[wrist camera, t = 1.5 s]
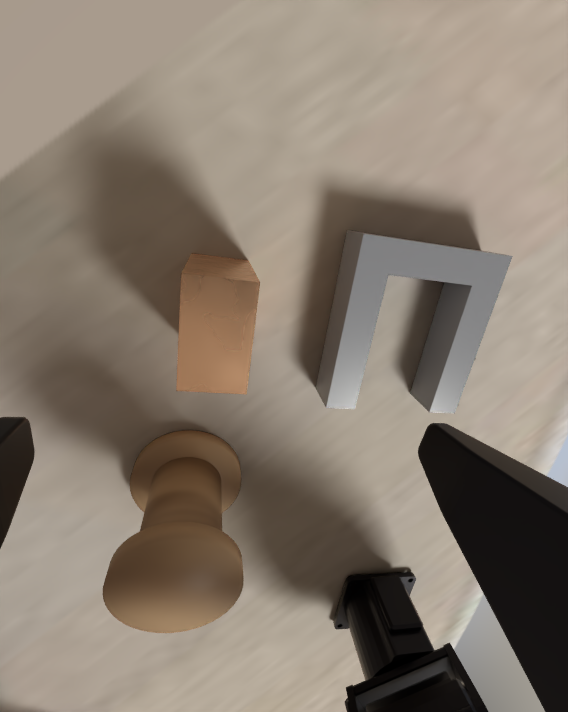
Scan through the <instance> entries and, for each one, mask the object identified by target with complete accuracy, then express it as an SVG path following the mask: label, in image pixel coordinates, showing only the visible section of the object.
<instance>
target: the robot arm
mask: <svg viewBox="0 0 568 712" xmlns="http://www.w3.org/2000/svg"><path fill="white" fill-rule="evenodd" d="M418 455H419V459H420V461H421V464H422V466H423V469H424V471H425V474H426V476H427V478H428V481H429V483H430V486H431V488H432V491H433V493H434V495H435V498H436V500H437V503H438V505H439V507H440V510H441V512H442V514H443V516H444V518H445V520H446V522H447V524H448V526H449V528H450V530H451V532H452V534H453V535H454V537H455V539H456V541H457V543H458V545H459V547H460V549H461V551H462V553H463V555H464V557H465V558H466V560H467V562H468V564H469V566H470V568H471V570H472V572H473V574H474V576H475V578H476V580H477V581H478V583H479V585H480V587H481V589H482V591H483V593H484V595H485V597H486V599H487V601H488V602H489V604H490V606H491V608H492V610H493V612H494V614H495V616H496V618H497V620H498V622H499V623H500V625H501V627H502V629H503V631H504V633H505V635H506V637H507V639H508V641H509V643H510V645H511V647H512V649H513V650H514V652H515V654H516V656H517V658H518V660H519V662H520V664H521V666H522V668H523V670H524V671H525V673H526V675H527V677H528V679H529V681H530V683H531V685H532V687H533V689H534V691H535V693H536V694H537V696H538V698H539V700H540V702H541V704H542V706H543V708H544V710H545V712H568V487H566V486H564V485H562V484H560V483H558V482H556V481H555V480H553V479H551V478H549V477H547V476H545V475H543V474H541V473H539V472H538V471H536V470H534V469H532V468H530V467H528V466H526V465H524V464H522V463H520V462H518V461H517V460H515V459H513V458H511V457H509V456H507V455H505V454H503V453H501V452H499V451H498V450H496V449H494V448H492V447H490V446H488V445H486V444H484V443H482V442H480V441H478V440H477V439H475V438H473V437H471V436H469V435H467V434H465V433H463V432H461V431H459V430H458V429H456V428H454V427H452V426H450V425H448V424H445V423H432V424H430V425H429V426H428V427H427V429H426V431H425V434H424V436H423V438H422V441H421V443H420V445H419V448H418ZM33 460H34V445H33V439H32V433H31V427H30V423H29V421H28V419H26V418H25V417H2V418H0V548H1V546H2V544H3V542H4V539H5V537H6V535H7V532H8V530H9V527H10V525H11V522H12V519H13V516H14V513H15V511H16V508H17V505H18V502H19V500H20V497H21V494H22V491H23V489H24V486H25V483H26V480H27V477H28V475H29V472H30V469H31V466H32V464H33ZM415 581H416V578H415V576H414V574H413V573H412V572H407V573H391V574H374V575H358V576H350V577H348V578H347V579H346V581H345V585H344V588H343V591H342V595H341V598H340V602H339V605H338V608H337V612H336V615H335V618H334V622H333V623H334V627H335V629H348V628H350V632H351V635H352V638H353V641H354V645H355V648H356V651H357V654H358V658H359V661H360V664H361V667H362V670H363V674H364V677H365V680H366V681H363V682H361V683H359V684H357V685H354V686H353V685H350V686H348V687H346V691H347V696H348V698H347V699H346V701H345V705H346V709H347V712H488V710H487V708H486V706H485V705H484V703H483V701H482V699H481V697H480V695H479V694H478V692H477V690H476V688H475V687H474V685H473V683H472V681H471V679H470V678H469V676H468V674H467V672H466V671H465V669H464V667H463V665H462V664H461V662H460V660H459V658H458V657H457V655H456V653H455V651H454V649H453V648H452V646H451V644H450V643H447V644H445V645H443V646H444V647H442V648H440V649H437V650H434V648H433V646H432V644H431V642H430V640H429V638H428V636H427V634H426V632H425V629H424V627H423V623H422V621H421V619H420V617H419V615H418V613H417V611H416V609H415V607H414V605H413V603H412V600H411V598H410V593H411V591H412V588H413V586H414V583H415Z"/></svg>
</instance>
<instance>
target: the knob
mask: <svg viewBox="0 0 568 712" xmlns="http://www.w3.org/2000/svg"><path fill="white" fill-rule="evenodd" d="M240 487H241V471H240V463H239V460H238V457H237V455H236V453H235V452H234V450H233V449H232V448H231V447H230V446H229V444H227V443H226V442H225V441H224V440H222V439H220V438H219V437H217V436H214V435H212V434H209V433H206V432H201V431H193V430H184V431H176V432H172V433H168V434H166V435H163V436H161V437H159V438H157V439H155V440H154V441H152V442H151V443H149V444H148V445H147V446H146V447H145V448H144V449H143V450H142V451H141V453H140V454H139V456H138V457H137V459H136V462H135V465H134V468H133V471H132V474H131V478H130V491H131V494H132V497H133V499H134V501H135V503H136V504H137V506H138V507H139V508H140V509H141V510H142V511H143V512H144V517H143V521H142V525H141V529H140V532H138V533H136V534H135V535H133V536H131V537H130V538H129V539H127V540H126V541H125V542H124V543H123V544H122V545H121V546H120V547H119V548H118V549H117V550H116V552H115V553H114V555H113V557H112V559H111V562H110V565H109V568H108V572H107V575H106V578H105V582H104V586H103V599H104V602H105V605H106V607H107V608H108V610H109V611H110V613H111V614H112V615H113V616H114V617H115V618H117V619H118V620H119V621H121V622H122V623H124V624H126V625H128V626H130V627H132V628H135V629H139V630H142V631H147V632H155V633H174V632H182V631H187V630H191V629H195V628H198V627H201V626H203V625H206V624H208V623H210V622H212V621H214V620H216V619H217V618H219V617H221V616H222V615H223V614H225V613H226V612H227V611H228V610H229V609H230V608H231V607H232V606H233V605H234V604H235V603H236V601H237V599H238V598H239V596H240V594H241V591H242V588H243V565H242V556H241V552H240V550H239V548H238V546H237V544H236V543H235V542H234V541H233V539H232V538H230V537H229V536H228V535H227V534H225V533H224V532H222V513H223V512H224V511H225V510H227V509H228V508H229V507H230V506H231V505H232V503H233V502H234V501H235V499H236V497H237V496H238V493H239V491H240Z"/></svg>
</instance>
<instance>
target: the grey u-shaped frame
mask: <svg viewBox="0 0 568 712" xmlns="http://www.w3.org/2000/svg"><path fill="white" fill-rule="evenodd" d="M511 259H512V256H509V255H503V254H497V253H492V252H486V251H481V250H474V249H468V248H461V247H455V246H448V245H442V244H435V243H429V242H422V241H415V240H409V239H402V238H396V237H389V236H383V235H376V234H370V233H363V232H357V231H350V230H347V233H346V238H345V243H344V248H343V253H342V258H341V263H340V268H339V273H338V278H337V283H336V288H335V293H334V298H333V303H332V308H331V313H330V318H329V323H328V328H327V334H326V339H325V344H324V349H323V354H322V359H321V364H320V369H319V374H318V379H317V384H316V390H317V392H318V393H319V395H320V397H321V399H322V401H323V403H324V405H325V407H326V408H340V409H355V406H356V402H357V398H358V394H359V390H360V386H361V382H362V378H363V374H364V370H365V366H366V362H367V358H368V354H369V350H370V346H371V342H372V338H373V334H374V330H375V326H376V322H377V318H378V314H379V310H380V306H381V302H382V298H383V294H384V290H385V286H386V282H387V278H388V275H393V276H401V277H409V278H417V279H424V280H432V281H440V282H444V285H443V288H442V291H441V295H440V298H439V301H438V304H437V308H436V311H435V314H434V317H433V320H432V324H431V327H430V330H429V333H428V337H427V340H426V343H425V346H424V350H423V353H422V356H421V359H420V363H419V366H418V369H417V372H416V376H415V379H414V382H413V385H412V389H411V392H410V394H411V395H412V396H413V397H414V398H415V399H416V400H417V401H418V402H419V403H421V404H422V405H423V406H424V407H425V408H426V409H427V410H428V411H429V412H434V413H455V411H456V408H457V406H458V403H459V400H460V397H461V395H462V392H463V389H464V387H465V384H466V381H467V378H468V376H469V373H470V370H471V367H472V365H473V362H474V359H475V357H476V354H477V351H478V348H479V346H480V343H481V340H482V338H483V335H484V332H485V329H486V327H487V324H488V321H489V319H490V316H491V313H492V310H493V308H494V305H495V302H496V300H497V297H498V294H499V291H500V289H501V286H502V283H503V281H504V278H505V275H506V272H507V270H508V267H509V264H510V262H511Z"/></svg>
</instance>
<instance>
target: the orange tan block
mask: <svg viewBox="0 0 568 712" xmlns="http://www.w3.org/2000/svg"><path fill="white" fill-rule="evenodd" d="M259 287H260V281H259V279H258V278H257V276H256V274H255V272H254V270H253V268H252V266H251V264H250V263H249V261H248V260H241V259H233V258H225V257H217V256H209V255H201V254H193V253H192V254H191V256H190V258H189V259H188V261H187V263H186V265H185V267H184V269H183V271H182V273H181V292H180V316H179V341H178V365H177V390H176V391H191V392H211V393H232V394H247V386H248V378H249V369H250V361H251V353H252V345H253V336H254V328H255V320H256V312H257V303H258V295H259Z"/></svg>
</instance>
